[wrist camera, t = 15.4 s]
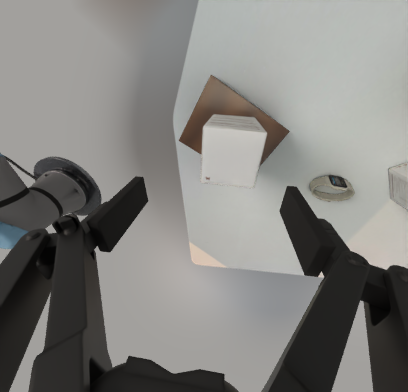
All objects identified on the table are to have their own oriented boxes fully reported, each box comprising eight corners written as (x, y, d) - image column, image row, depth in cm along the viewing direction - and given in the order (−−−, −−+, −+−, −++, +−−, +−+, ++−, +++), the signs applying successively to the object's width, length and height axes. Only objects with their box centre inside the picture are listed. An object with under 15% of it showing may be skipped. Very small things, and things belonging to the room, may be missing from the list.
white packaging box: (247, 158, 33) (254, 191, 22) (209, 153, 33) (198, 183, 23) (256, 116, 29) (269, 132, 18) (212, 112, 29) (201, 125, 19)
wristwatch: (352, 177, 42) (366, 187, 37) (339, 198, 45) (350, 210, 41) (314, 172, 42) (323, 181, 38) (303, 193, 46) (311, 204, 42)
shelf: (189, 130, 41) (178, 140, 33) (216, 77, 35) (210, 74, 27) (243, 164, 44) (246, 182, 35) (277, 121, 38) (289, 131, 29)
